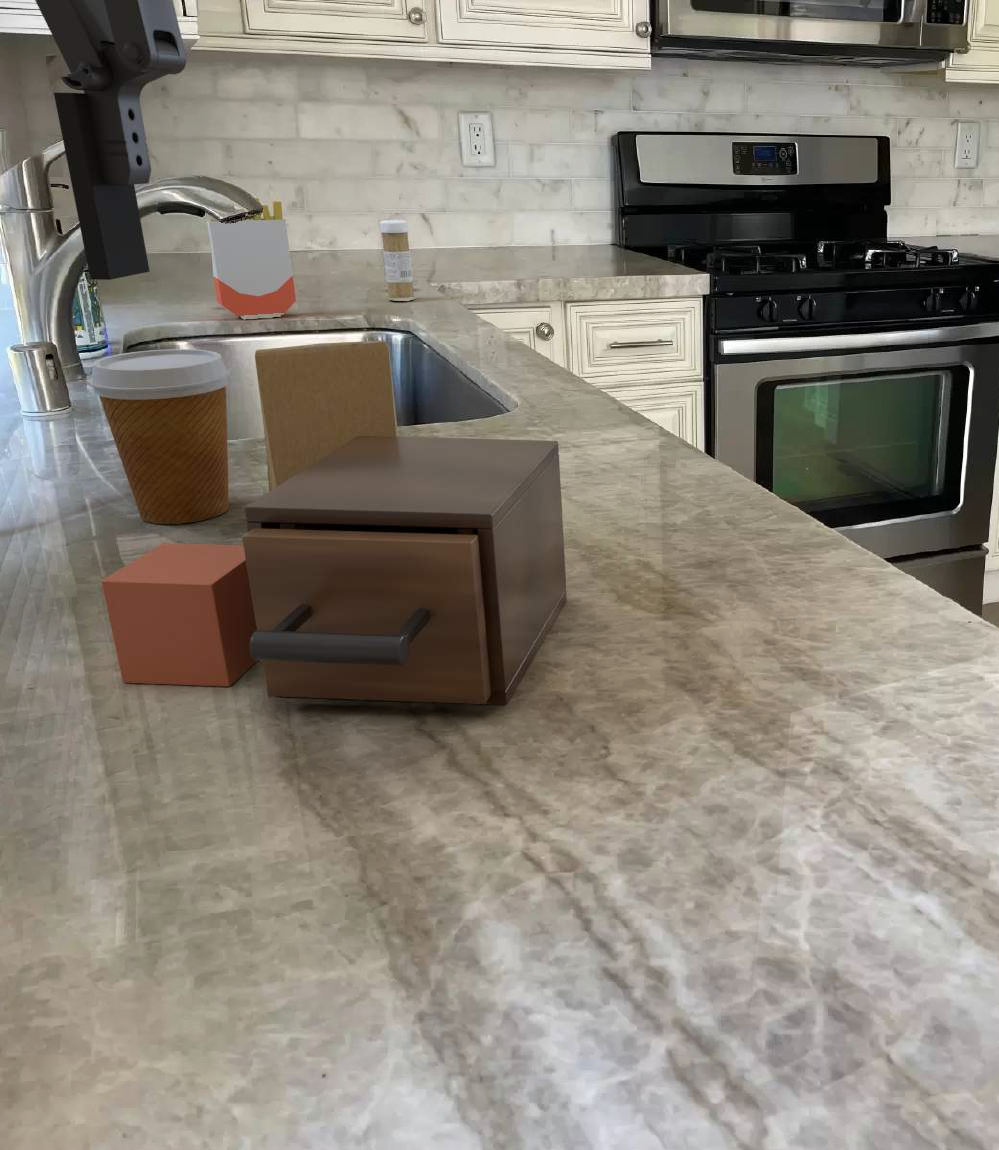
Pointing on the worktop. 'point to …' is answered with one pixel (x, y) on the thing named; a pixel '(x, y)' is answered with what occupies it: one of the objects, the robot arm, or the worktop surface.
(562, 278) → the worktop surface
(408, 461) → the cabinet
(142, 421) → the disposable coffee cup
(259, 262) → the french fries container
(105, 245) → the robot arm
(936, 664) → the worktop surface
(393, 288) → the sprinkles bottle
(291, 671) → the drawer
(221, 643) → the block
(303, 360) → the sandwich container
